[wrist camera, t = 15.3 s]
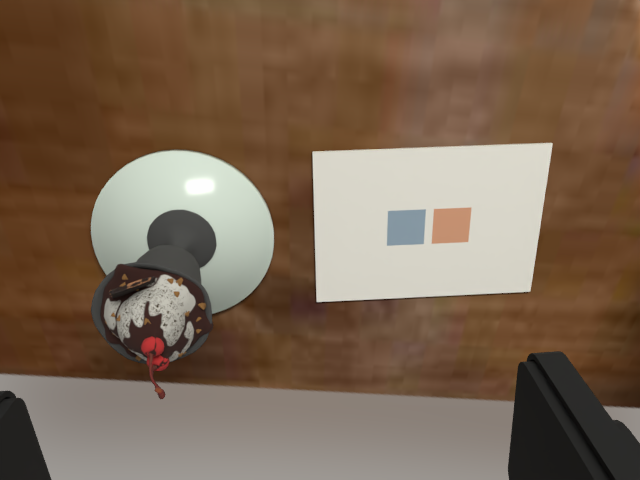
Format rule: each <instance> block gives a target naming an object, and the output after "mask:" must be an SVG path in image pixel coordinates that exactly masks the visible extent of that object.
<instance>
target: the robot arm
mask: <svg viewBox="0 0 640 480" xmlns="http://www.w3.org/2000/svg"><path fill="white" fill-rule="evenodd" d="M508 474H509V480H640V443H639V442H638V441H637V439H636V438H635V437H634V435H633V434H632V433H631V431H630V430H629V429H628V428H627V427H626V426H625V425H624V424H623V423H622V422H620V421H618V420H612V419H611V417H610V416H609V415H608V413H607V412H606V411H605V409H604V408H603V406H602V405H601V403H600V402H599V401H598V399H597V398H596V397H595V395H594V394H593V392H592V391H591V390H590V388H589V387H588V386H587V384H586V383H585V382H584V380H583V379H582V377H581V376H580V375H579V373H578V372H577V371H576V369H575V368H574V366H573V365H572V364H571V362H570V361H569V360H568V358H567V357H566V355H565V354H564V353H563V352H560V351H558V352H544V353H531V354H529V356H528V358H527V362H520V363H519V366H518V373H517V383H516V393H515V403H514V414H513V423H512V434H511V443H510V453H509V464H508ZM0 480H51V477H50V474H49V472H48V469H47V466H46V463H45V460H44V457H43V454H42V451H41V449H40V446H39V442H38V440H37V437H36V434H35V431H34V428H33V425H32V422H31V419H30V416H29V413H28V410H27V407H26V405H25V402H24V401H23V400H22V399H21V398H16V396H15V394H13V393H12V392H11V391H0Z"/></svg>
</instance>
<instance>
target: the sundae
mask: <svg viewBox="0 0 640 480" xmlns="http://www.w3.org/2000/svg"><path fill="white" fill-rule="evenodd" d="M147 244H148V248H149V251H147V252H146V253H145V254H144V255H142V256H141V257H140V258H139V259H138V260H137V261H136V262H133V263H128V264H118V265H117V266H116V268H115V269H114V270H113V271H112V272H110V273H109V274H108V275H107V276H106V277H105V278H104V280H103V281H102V282H101V284H100V285H99V287H98V288H97V289H96V291H95V294H94V297H93V300H92V307H91V312H92V318H93V321H94V323H95V326H96V327H97V329H98V331H99V332H100V333H101V335H102V336H103V337H104V339H105V340H106V341H107V342H108V343H109V345H110V346H111V347H112V348H113V349H115V350H116V351H117V352H118V353H120V354H121V355H123V356H124V357H126V358H127V359H130V360H133V361H136V362H138V363H144V364H147V365H148V366H149V374H150V378H151V381H152V383H153V384H154V385H155V388H156V389H155V391H156V392H157V393H158V395H159V398H160V399H163V398H164V397H165V392H164V390H162V389H161V388H160V387H159V386H158V385H157V384H156V383H155V381H154V378H153V373H154V371H162V370H164V369H166V368H167V366H168V364H169V362H172V361H175V360H178V359H180V358H183V357H185V356H187V355H189V354H191V353H193V352H195V351H196V350H197V349H198V348H200V347H201V346H202V344H203V343H204V342H205V341H206V339H207V337H208V334H209V332H210V331H211V330H212V329H213V322H212V308H211V302H210V299H209V296H208V293H207V291H206V290H205V288H204V287H203V286H202V284H201V274H200V268H201V267H203V266H205V265H206V264H207V263H208V262H209V261H210V260H211V259H212V257H213V255H214V253H215V250H216V246H217V245H216V236H215V232H214V230H213V228H212V227H211V225H210V224H209V222H208V221H206V220H205V219H204V218H203V217H201V216H200V215H198V214H196V213H194V212H191V211H187V210H170V211H167V212H165V213H163V214H161V215H159V216H158V217H157V218H156V219H155V220H154V221H153V222H152V223H151V225H150V227H149V230H148V233H147Z"/></svg>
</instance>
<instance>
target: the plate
mask: <svg viewBox="0 0 640 480" xmlns="http://www.w3.org/2000/svg"><path fill="white" fill-rule="evenodd" d="M170 210H187V211H191V212H194V213H196V214H198V215H200V216H201V217H203V218H204V219H205V220H206V221H208V222H209V224H210V225H211V227H212V228H213V230H214V232H215V236H216V245H217V246H216V250H215V253H214V255H213V257H212V259H211V260H210V261H209V262H208V263H207V264H206V265H205V266H203V267H201V268H200V274H201V284H202V286H203V287H204V288H205V290H206V291H207V293H208V296H209V299H210V302H211V308H212V314H213V313H217V312H220V311H222V310H225V309H227V308H229V307H232V306H234V305H236V304H237V303H239V302H240V301H242V300H243V299H245V298H246V297H247V296H248V295H249V294H250V293H251V292H252V291H253V290H254V289H255V288H256V287H257V286H258V285H259V283H260V282H261V280H262V279H263V277H264V276H265V274H266V272H267V270H268V267H269V265H270V262H271V258H272V254H273V247H274V229H273V222H272V218H271V214H270V211H269V209H268V206H267V204H266V202H265V200H264V198H263V197H262V195H261V193H260V192H259V190H258V189H257V188H256V186H255V185H254V184H253V183H252V182H251V181H250V180H249V179H248V178H247V177H246V176H245V175H244V174H243V173H242V172H240V171H239V170H238V169H236V168H235V167H234V166H232V165H230V164H229V163H227V162H225V161H223V160H221V159H219V158H216V157H214V156H212V155H209V154H205V153H201V152H197V151H191V150H164V151H158V152H154V153H150V154H147V155H144V156H142V157H139V158H137V159H135V160H133V161H132V162H130V163H128V164H127V165H125V166H124V167H123V168H121V169H120V170H119V171H118V172H117V173H116V174H115V175H114V176H113V177H112V178H111V179H110V180H109V181H108V182H107V184H106V185H105V186H104V188H103V189H102V191H101V192H100V194H99V196H98V198H97V200H96V203H95V206H94V209H93V214H92V220H91V237H92V244H93V247H94V251H95V254H96V257H97V259H98V261H99V264H100V265H101V267H102V269H103V270H104V272H105V274H106V275H108V274H109V273H110V272H112V271H113V270H114V269H115V268H116V266H117V265H118V264H128V263H133V262H136V261H137V260H138V259H139V258H140V257H141V256H142V255H144V254H145V253H146V252H147V251H149V248H148V244H147V233H148V230H149V227H150V225H151V223H152V222H153V221H154V220H155V219H156V218H157V217H158V216H159V215H161V214H163V213H165V212H167V211H170Z"/></svg>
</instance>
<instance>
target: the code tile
mask: <svg viewBox="0 0 640 480" xmlns="http://www.w3.org/2000/svg"><path fill="white" fill-rule="evenodd" d="M552 145H553V143H531V144H504V145H477V146H450V147H422V148H395V149H368V150H341V151H314V152H312V157H313V193H314V229H315V265H316V301H317V302H330V301H351V300H371V299H392V298H412V297H433V296H453V295H474V294H494V293H515V292H530V290H531V284H532V277H533V271H534V264H535V257H536V251H537V244H538V237H539V231H540V224H541V218H542V211H543V204H544V198H545V191H546V184H547V178H548V171H549V164H550V158H551V151H552Z"/></svg>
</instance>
